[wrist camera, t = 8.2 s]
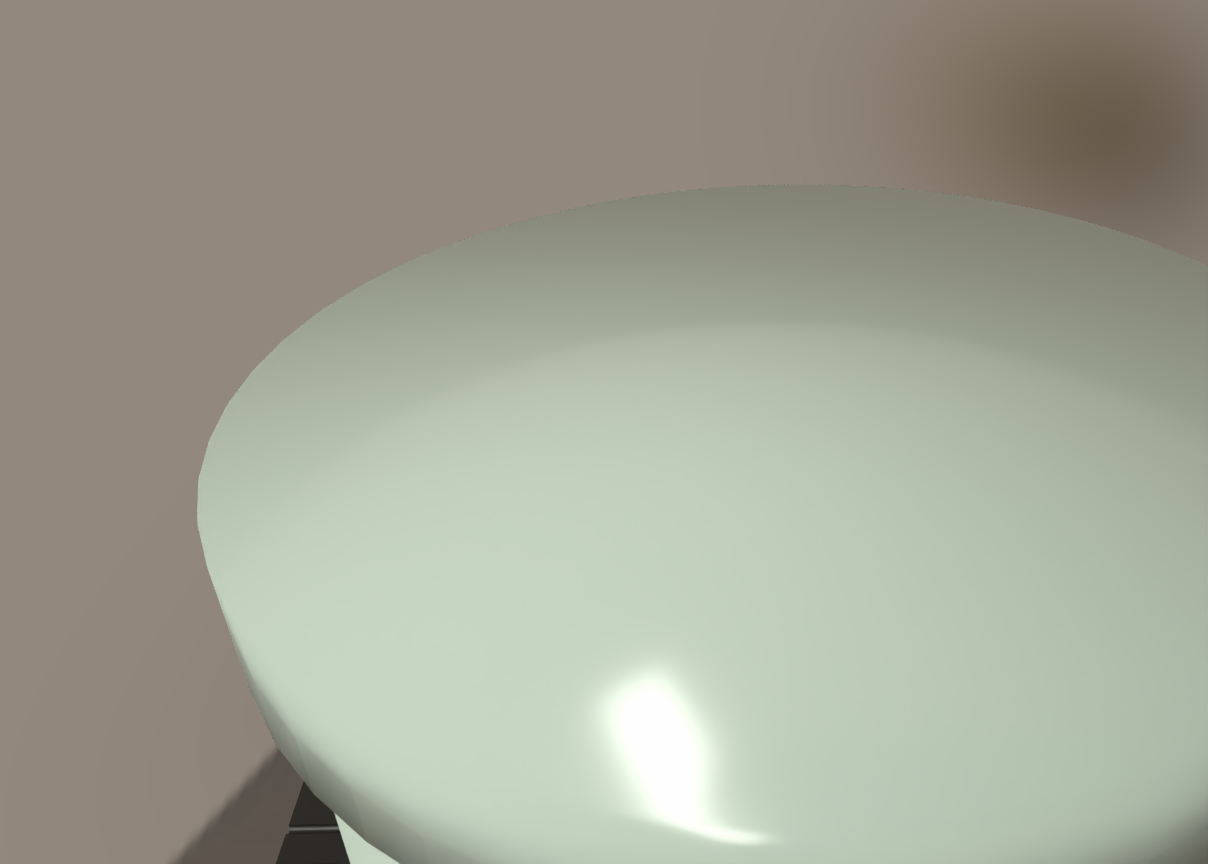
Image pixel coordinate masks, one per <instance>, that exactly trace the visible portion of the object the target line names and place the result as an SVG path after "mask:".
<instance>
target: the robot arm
mask: <svg viewBox="0 0 1208 864" xmlns="http://www.w3.org/2000/svg"><path fill="white" fill-rule="evenodd" d="M289 827H290V830H289V834H286V836H285V838H284V841H283V844H282V847H281V850H280V853H279V856H278V859H277V862H276V864H350V861H349V858H348V855H347V851H346V848H345V845H344V842H343V839H342V836H341V832H340V829H339V826H338V823H337V820H336V817H335V814H334V812H333V811H332V810H331V809H330V808H329V807H327V806H326V805H325V804H324V803H323V802H322V801H321V800H320V799H319V798H318V797H316V796H315V795H314V794H313V792H312V791H311V790H310V788H309V787H308V786H307V785H306V783H305V782H303V785H302V788H301V791H300V794H299V797H298V800H297V803H296V806H295V809H294V812H293V815H292V818H291V821H290V824H289Z"/></svg>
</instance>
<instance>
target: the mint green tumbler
mask: <svg viewBox="0 0 1208 864" xmlns="http://www.w3.org/2000/svg"><path fill="white" fill-rule="evenodd" d="M197 515H198V516H197V523H198V528H199V533H200V536H201V541H202V546H203V550H204V554H205V559H206V563H207V568H208V570H209V573H210V576H211V579H212V582H213V585H214V588H215V591H216V594H217V596H218V599H219V602H220V605H221V608H222V611H223V614H224V617H225V619H226V622H227V625H228V628H229V631H230V634H231V637H232V639H233V642H234V645H235V648H236V651H237V654H238V657H239V660H240V663H241V665H242V668H243V671H244V674H245V677H246V680H247V683H248V686H249V688H250V691H251V694H252V696H253V698H254V701H255V703H256V705H257V707H258V709H259V711H260V713H261V715H262V717H263V719H264V721H265V723H266V725H267V727H268V729H269V731H270V733H271V735H272V737H273V739H274V742H275V744H276V745H277V747H278V748H279V749H280V751H281V752H282V753H283V754H284V756H285V757H286V758H287V760H288V761H289V762H290V764H291V765H292V766H293V768H294V769H295V770H296V771H297V773H298V774H299V775H300V777H301V778H302V779H303V781H304V782H305V783H306V785H307V786H308V787H309V788H310V790H311V791H312V792H313V794H314V795H315V796H316V797H318V798H319V799H320V800H321V801H322V802H323V803H324V804H325V805H326V806H327V807H329V808H330V809H331V810H332V811H333V812H334V814H335V817H336V820H337V823H338V826H339V829H340V832H341V836H342V839H343V842H344V845H345V848H346V851H347V855H348V858H349V861H350V864H1208V267H1207V266H1205V265H1203V264H1201V263H1199V262H1197V261H1195V260H1193V259H1191V258H1188V257H1186V256H1183V255H1181V254H1178V253H1176V252H1173V251H1171V250H1168V249H1166V248H1163V247H1160V246H1158V245H1156V244H1153V243H1151V242H1148V241H1145V240H1143V239H1140V238H1137V237H1133V236H1131V235H1127V234H1124V233H1121V232H1118V231H1114V230H1112V229H1109V228H1106V227H1102V226H1099V225H1096V224H1093V223H1090V222H1086V221H1082V220H1078V219H1073V218H1069V217H1066V216H1062V215H1058V214H1054V213H1050V212H1046V211H1042V210H1038V209H1032V208H1028V207H1023V206H1018V205H1013V204H1007V203H1002V202H997V201H992V200H987V199H980V198H973V197H966V196H959V195H952V194H945V193H937V192H930V191H919V190H908V189H897V188H886V187H870V186H848V185H757V186H735V187H719V188H708V189H697V190H686V191H677V192H676V191H675V192H668V193H661V194H654V195H646V196H639V197H632V198H625V199H619V200H614V201H609V202H603V203H598V204H593V205H587V206H582V207H577V208H573V209H568V210H565V211H560V212H556V213H552V214H547V215H543V216H539V217H535V218H531V219H527V220H524V221H521V222H517V223H514V224H511V225H507V226H504V227H500V228H497V229H494V230H490V231H487V232H484V233H481V234H478V235H475V236H472V237H470V238H467V239H464V240H461V241H459V242H456V243H453V244H451V245H448V246H445V247H442V248H439V249H437V250H435V251H433V252H430V253H428V254H426V255H423V256H421V257H419V258H417V259H414V260H412V261H409V262H407V263H405V264H403V265H400V266H398V267H396V268H394V269H392V270H390V271H388V272H386V273H384V274H383V275H381V276H379V277H377V278H375V279H373V280H371V281H369V282H367V283H365V284H364V285H362V286H360V287H358V288H356V289H354V290H353V291H351V292H350V293H348V294H347V295H345V296H343V297H342V298H340V299H339V300H337V301H336V302H334V303H332V304H331V305H329V306H328V307H326V308H325V309H323V310H321V311H320V312H318V313H317V314H316V315H315V316H313V317H312V318H311V319H310V320H308V321H307V322H306V323H304V324H303V325H302V326H301V327H299V328H298V329H297V330H296V331H294V332H293V333H292V334H290V335H289V336H288V337H287V338H285V339H284V340H283V341H282V342H281V343H280V344H279V345H278V346H277V347H276V348H275V349H274V350H273V351H272V352H271V353H270V354H269V355H268V356H267V357H266V358H265V359H264V360H263V361H262V362H261V363H260V364H259V365H258V366H257V367H256V368H255V369H254V370H253V371H252V372H251V374H250V375H249V376H248V378H247V379H246V380H245V382H244V383H243V384H242V386H241V387H240V388H239V390H238V391H237V392H236V394H235V395H234V396H233V398H232V399H231V400H230V402H229V403H228V405H227V407H226V408H225V410H224V412H223V414H222V416H221V418H220V421H219V422H218V424H217V426H216V428H215V430H214V432H213V434H212V436H211V438H210V440H209V443H208V447H207V450H206V454H205V458H204V461H203V465H202V469H201V472H200V476H199V480H198V512H197Z"/></svg>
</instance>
